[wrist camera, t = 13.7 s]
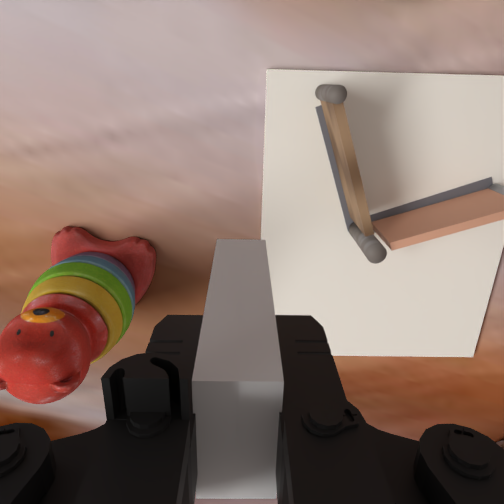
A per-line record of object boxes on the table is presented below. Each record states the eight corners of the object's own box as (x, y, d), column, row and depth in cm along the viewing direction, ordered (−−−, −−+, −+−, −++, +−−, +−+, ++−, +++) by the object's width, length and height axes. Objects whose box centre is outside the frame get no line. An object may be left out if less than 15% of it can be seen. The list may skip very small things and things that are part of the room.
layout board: (266, 69, 38) (267, 69, 37) (545, 77, 38) (550, 76, 38) (256, 351, 49) (256, 355, 49) (470, 354, 50) (473, 357, 49)
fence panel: (373, 231, 43) (394, 256, 37) (370, 219, 42) (391, 242, 36) (501, 194, 42) (545, 214, 36) (500, 181, 41) (545, 198, 35)
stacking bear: (158, 239, 44) (107, 334, 27) (149, 320, 48) (99, 445, 31) (55, 222, 43) (-63, 308, 27) (54, 305, 47) (-51, 426, 30)
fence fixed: (311, 88, 38) (324, 89, 31) (330, 81, 38) (347, 81, 31) (350, 238, 44) (369, 266, 37) (367, 233, 43) (388, 260, 37)
